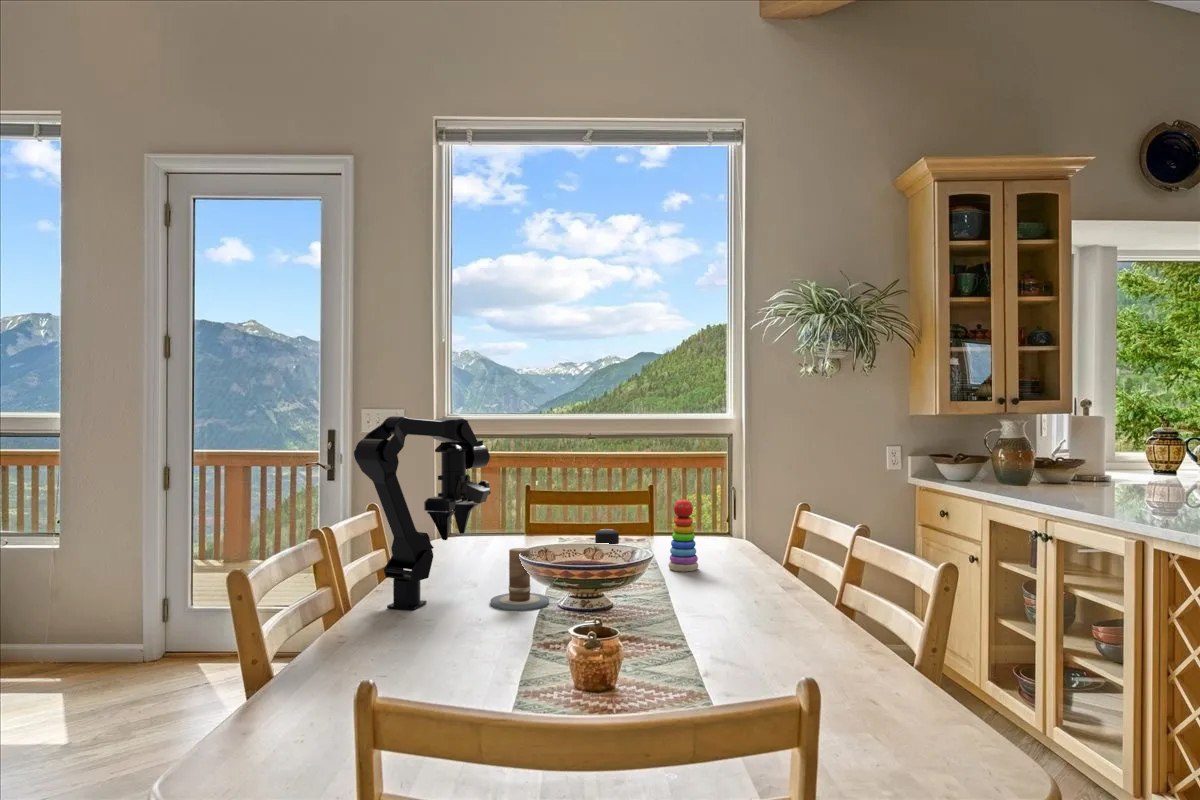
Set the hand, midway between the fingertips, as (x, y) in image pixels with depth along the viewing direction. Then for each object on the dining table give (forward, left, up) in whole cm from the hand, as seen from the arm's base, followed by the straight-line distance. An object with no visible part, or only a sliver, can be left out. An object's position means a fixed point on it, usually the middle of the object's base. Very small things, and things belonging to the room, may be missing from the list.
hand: (453, 536), depth 192 cm
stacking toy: (+39, -48, -13) cm, 64 cm away
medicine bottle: (+25, -31, -13) cm, 42 cm away
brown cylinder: (-6, -19, -12) cm, 23 cm away
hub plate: (-6, -19, -13) cm, 24 cm away
